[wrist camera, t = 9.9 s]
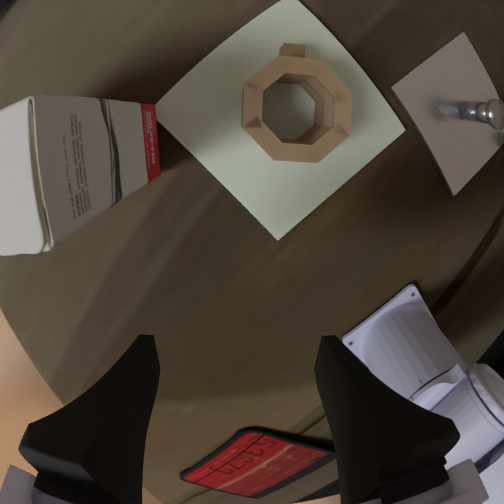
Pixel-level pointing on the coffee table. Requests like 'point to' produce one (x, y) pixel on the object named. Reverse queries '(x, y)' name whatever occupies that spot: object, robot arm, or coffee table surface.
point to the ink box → (69, 165)
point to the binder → (258, 463)
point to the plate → (453, 110)
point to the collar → (318, 88)
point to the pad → (274, 118)
